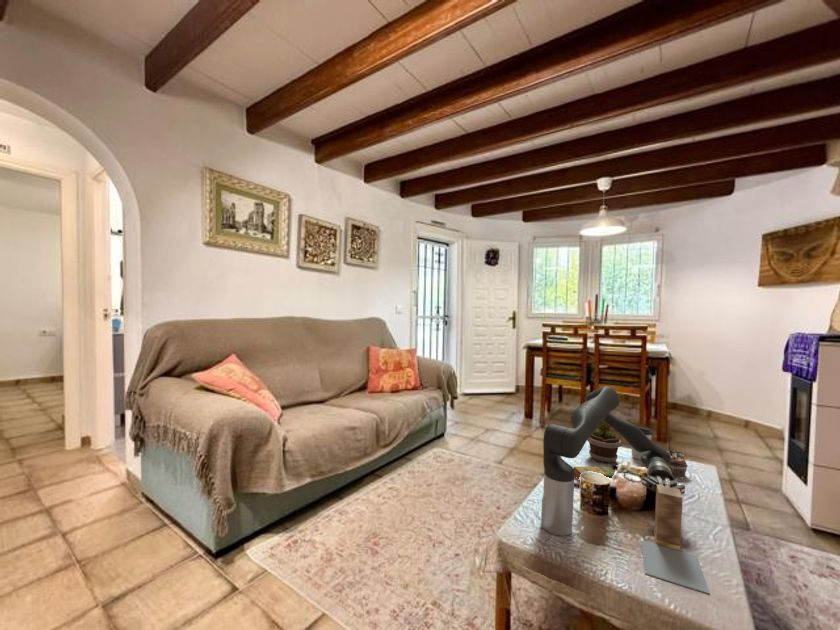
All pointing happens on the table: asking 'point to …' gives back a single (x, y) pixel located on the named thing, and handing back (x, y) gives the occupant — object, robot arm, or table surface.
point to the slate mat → (673, 566)
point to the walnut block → (668, 517)
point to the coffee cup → (648, 434)
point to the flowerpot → (604, 444)
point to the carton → (603, 470)
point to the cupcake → (677, 463)
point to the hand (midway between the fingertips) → (666, 496)
